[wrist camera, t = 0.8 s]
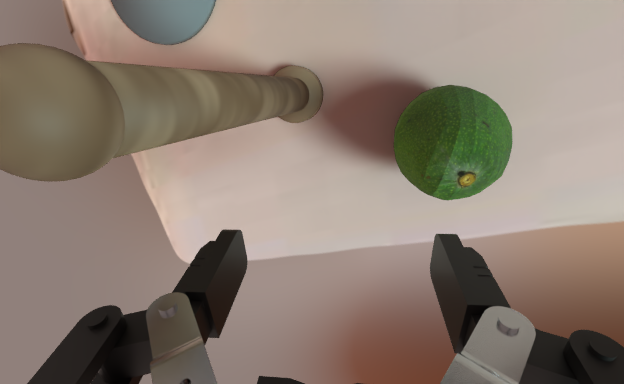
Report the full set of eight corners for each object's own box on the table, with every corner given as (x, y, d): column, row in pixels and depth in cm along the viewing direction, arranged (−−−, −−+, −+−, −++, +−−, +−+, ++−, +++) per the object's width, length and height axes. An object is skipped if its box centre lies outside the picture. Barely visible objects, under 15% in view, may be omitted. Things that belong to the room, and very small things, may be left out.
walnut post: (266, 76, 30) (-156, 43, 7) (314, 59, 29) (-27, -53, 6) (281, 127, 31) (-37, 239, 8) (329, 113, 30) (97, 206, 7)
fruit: (383, 164, 30) (375, 209, 19) (408, 77, 27) (416, 71, 16) (469, 185, 29) (514, 248, 18) (505, 96, 26) (585, 104, 15)
